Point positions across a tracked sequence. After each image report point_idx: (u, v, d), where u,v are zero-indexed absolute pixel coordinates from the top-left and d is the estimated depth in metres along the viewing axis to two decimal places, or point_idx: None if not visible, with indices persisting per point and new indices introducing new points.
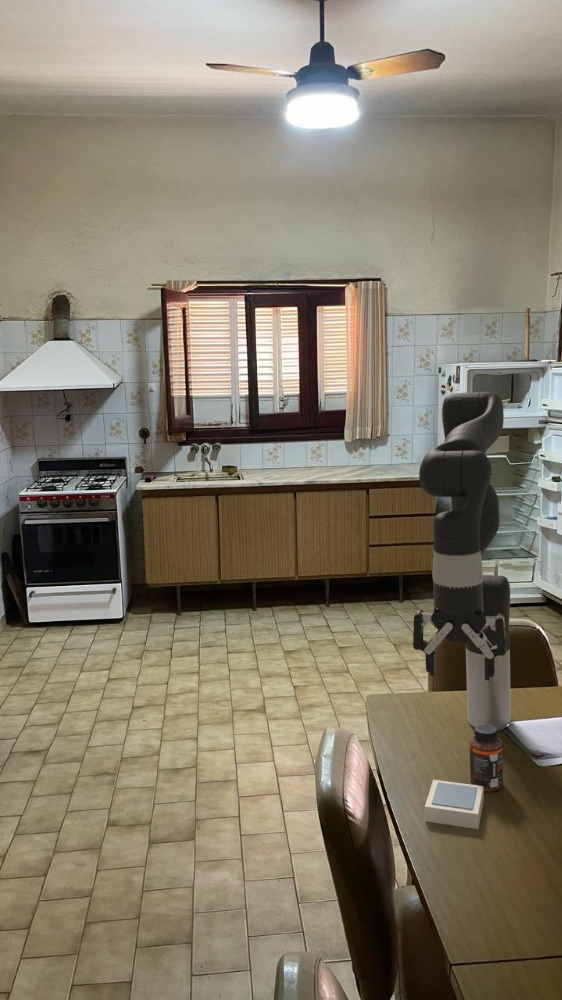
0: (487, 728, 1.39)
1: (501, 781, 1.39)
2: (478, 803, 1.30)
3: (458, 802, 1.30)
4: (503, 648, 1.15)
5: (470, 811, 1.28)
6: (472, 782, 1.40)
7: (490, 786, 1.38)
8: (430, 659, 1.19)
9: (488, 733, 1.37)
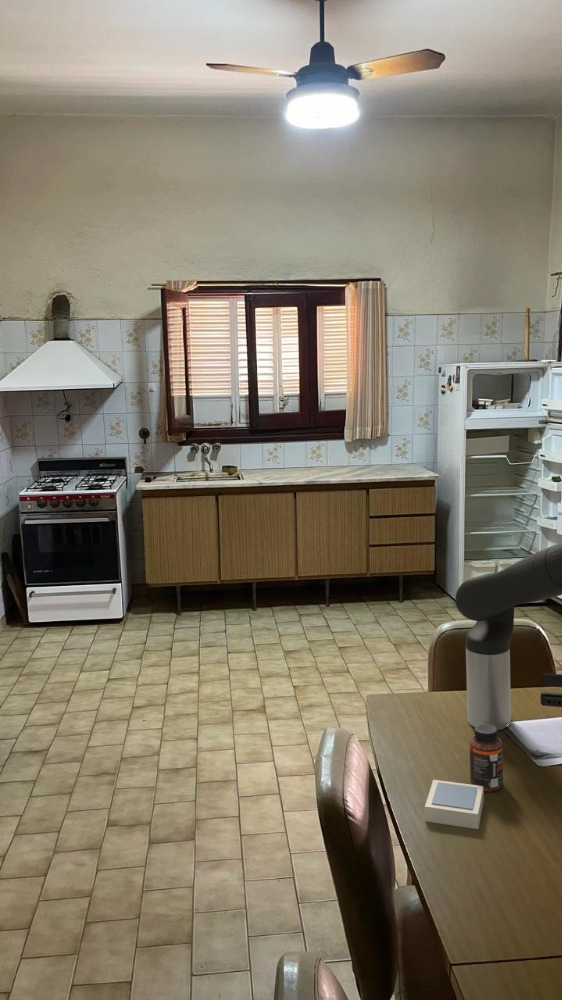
0: (487, 728, 1.39)
1: (501, 781, 1.39)
2: (478, 803, 1.30)
3: (458, 802, 1.30)
4: None
5: (470, 811, 1.28)
6: (472, 782, 1.40)
7: (490, 786, 1.38)
8: (558, 706, 1.29)
9: (488, 733, 1.37)
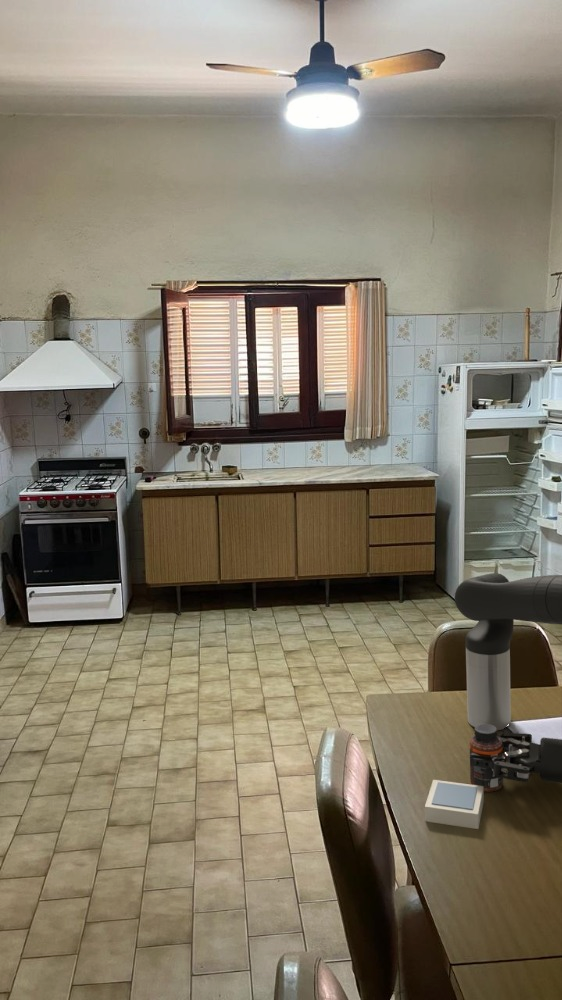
0: (487, 728, 1.39)
1: (501, 781, 1.39)
2: (478, 803, 1.30)
3: (458, 802, 1.30)
4: None
5: (470, 811, 1.28)
6: (472, 782, 1.40)
7: (490, 786, 1.38)
8: None
9: (488, 733, 1.37)
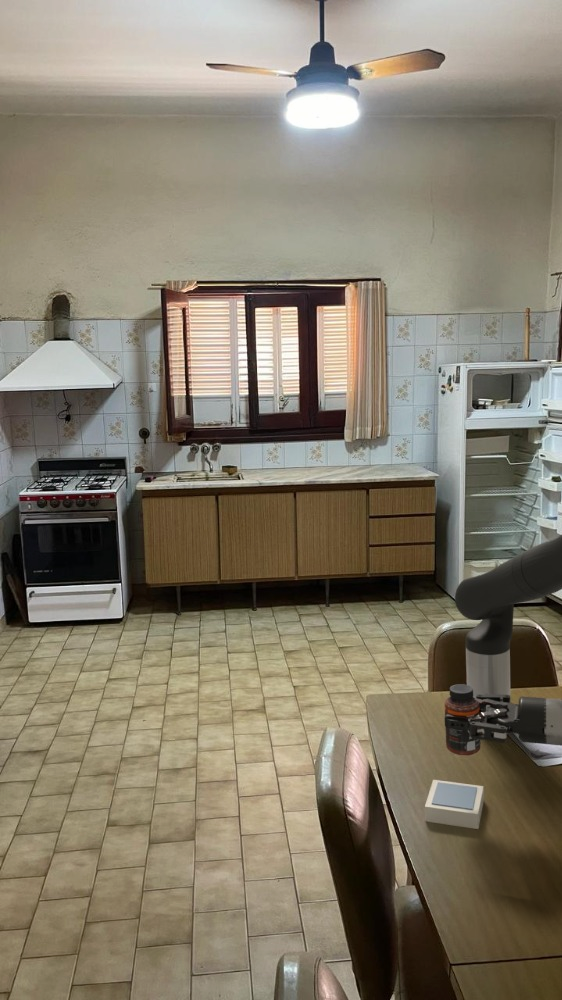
0: (462, 688, 1.31)
1: (478, 744, 1.30)
2: (478, 803, 1.30)
3: (458, 802, 1.30)
4: None
5: (470, 811, 1.28)
6: (448, 746, 1.32)
7: (467, 749, 1.29)
8: None
9: (463, 693, 1.29)
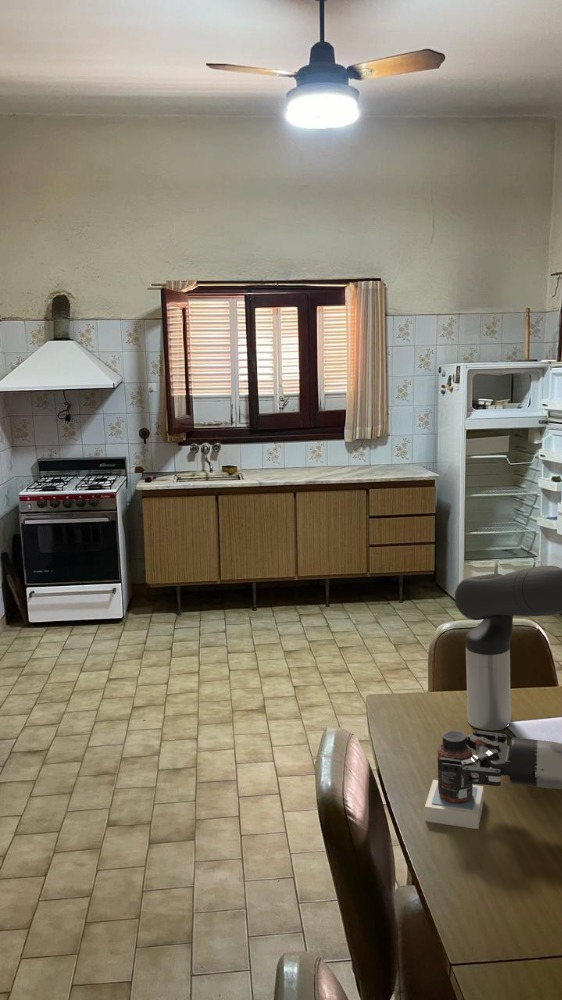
0: (455, 736, 1.31)
1: (470, 792, 1.31)
2: (478, 803, 1.30)
3: None
4: None
5: (470, 811, 1.28)
6: (440, 792, 1.32)
7: (458, 797, 1.30)
8: None
9: (456, 741, 1.29)
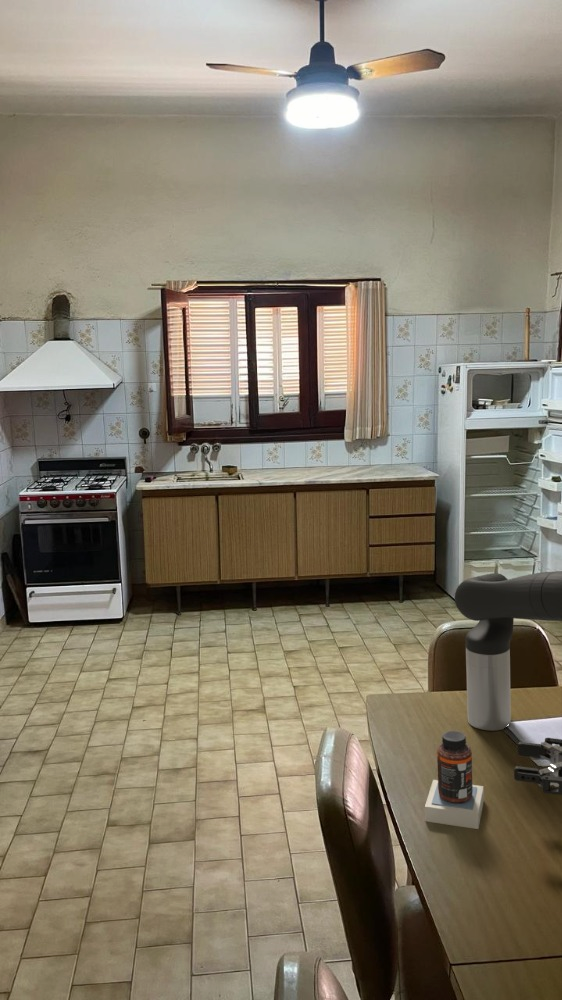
0: (455, 735, 1.31)
1: (470, 792, 1.31)
2: (478, 803, 1.30)
3: None
4: None
5: (470, 811, 1.28)
6: (440, 793, 1.32)
7: (458, 797, 1.30)
8: None
9: (455, 741, 1.29)
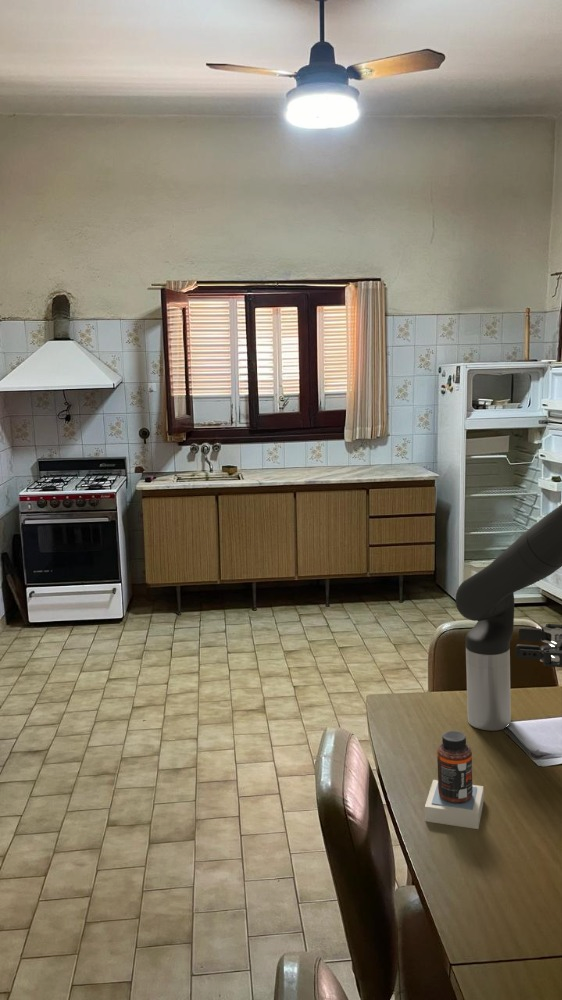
0: (455, 735, 1.31)
1: (470, 792, 1.31)
2: (478, 803, 1.30)
3: None
4: None
5: (470, 811, 1.28)
6: (440, 793, 1.32)
7: (458, 797, 1.30)
8: (534, 658, 1.25)
9: (456, 741, 1.29)
